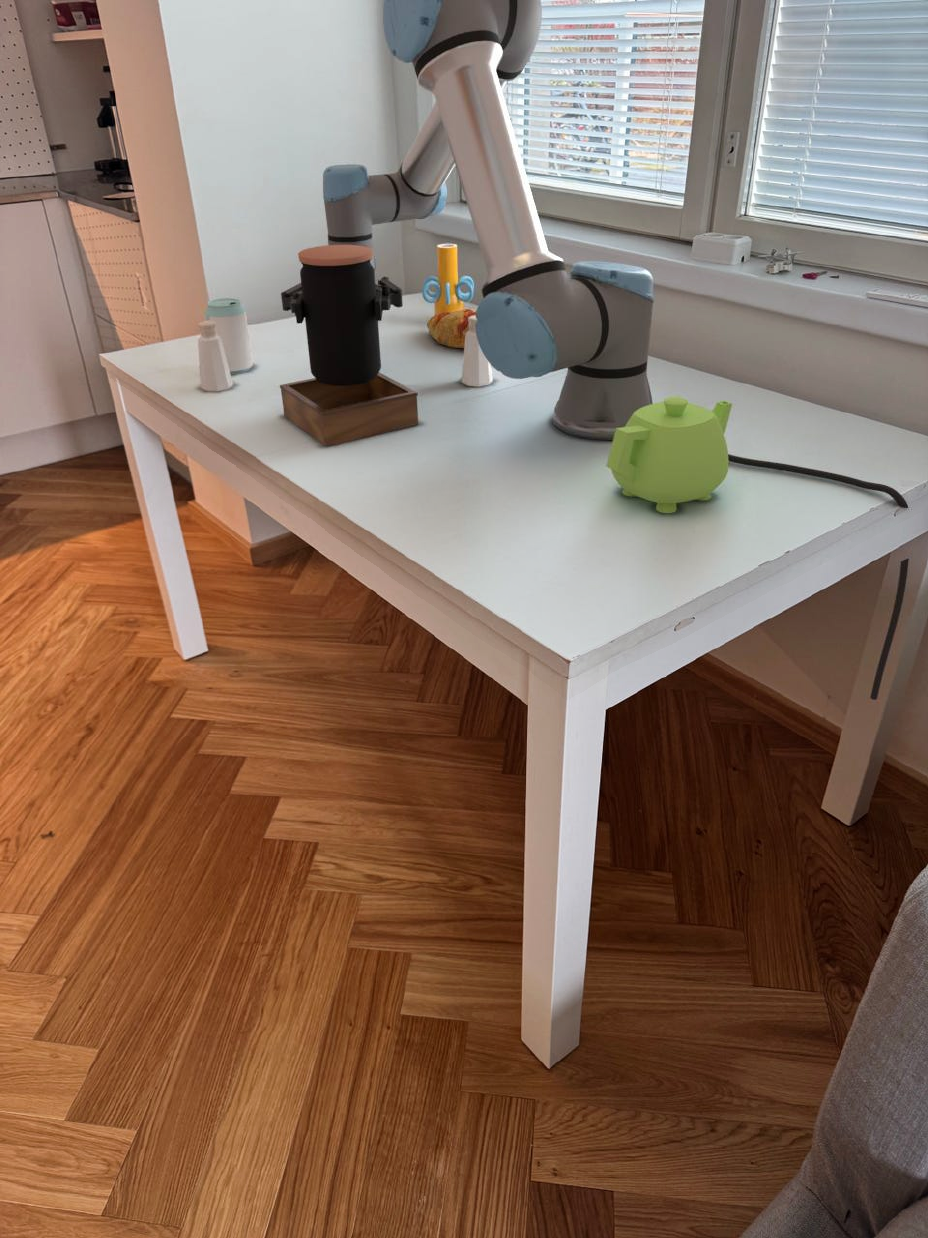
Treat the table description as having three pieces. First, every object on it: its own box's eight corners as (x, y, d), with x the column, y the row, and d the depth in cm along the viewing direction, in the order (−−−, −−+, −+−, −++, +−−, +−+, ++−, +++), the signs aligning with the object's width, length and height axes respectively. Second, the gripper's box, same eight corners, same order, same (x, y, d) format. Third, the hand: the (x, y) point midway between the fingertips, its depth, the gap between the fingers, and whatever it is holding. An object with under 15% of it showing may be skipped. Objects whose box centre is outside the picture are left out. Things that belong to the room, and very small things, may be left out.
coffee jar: (383, 364, 148) (374, 243, 138) (380, 386, 139) (371, 257, 129) (315, 366, 147) (302, 245, 138) (307, 388, 138) (293, 259, 129)
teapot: (684, 459, 131) (694, 370, 124) (760, 491, 121) (775, 396, 114) (573, 496, 121) (578, 401, 114) (646, 533, 112) (656, 433, 105)
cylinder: (474, 329, 191) (472, 251, 183) (422, 329, 191) (419, 251, 183) (474, 313, 201) (473, 239, 193) (426, 314, 201) (423, 240, 193)
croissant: (419, 351, 190) (402, 319, 184) (452, 319, 192) (436, 286, 186) (488, 372, 175) (471, 338, 170) (523, 338, 178) (508, 303, 172)
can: (242, 361, 175) (233, 294, 169) (260, 369, 170) (251, 301, 164) (207, 368, 171) (196, 301, 165) (224, 377, 167) (213, 308, 160)
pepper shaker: (480, 388, 158) (479, 322, 153) (455, 383, 161) (453, 318, 155) (499, 380, 162) (499, 315, 156) (473, 375, 165) (473, 311, 159)
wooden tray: (419, 424, 145) (417, 392, 142) (325, 446, 138) (322, 413, 135) (372, 397, 156) (369, 366, 153) (283, 416, 149) (279, 384, 146)
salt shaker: (232, 380, 165) (222, 316, 159) (234, 390, 161) (224, 324, 155) (200, 383, 164) (189, 319, 158) (201, 393, 159) (190, 327, 154)
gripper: (420, 300, 155) (420, 336, 136) (280, 304, 154) (260, 341, 136) (418, 252, 151) (417, 282, 132) (274, 256, 151) (253, 287, 132)
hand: (338, 312), depth 134 cm, fingers closed on coffee jar, 11 cm apart
